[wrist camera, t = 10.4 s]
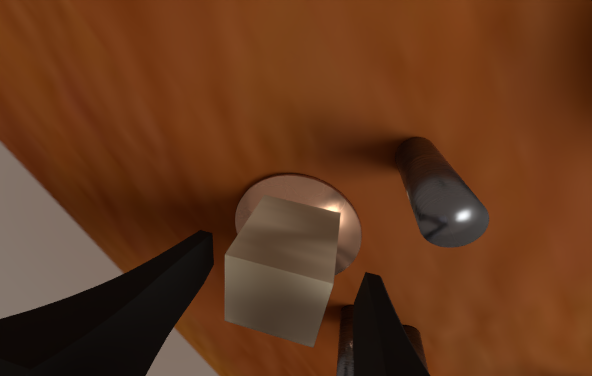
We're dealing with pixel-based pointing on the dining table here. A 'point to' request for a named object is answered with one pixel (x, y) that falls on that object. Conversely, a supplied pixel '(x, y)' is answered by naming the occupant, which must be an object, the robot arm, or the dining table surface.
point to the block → (282, 269)
